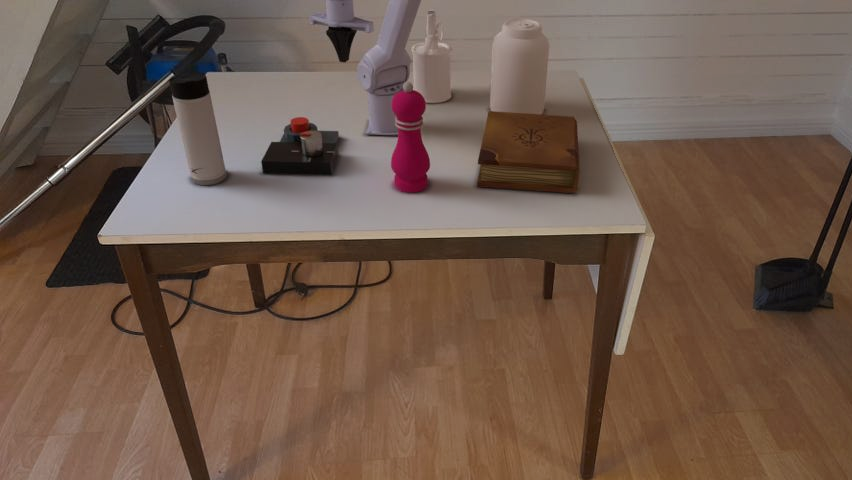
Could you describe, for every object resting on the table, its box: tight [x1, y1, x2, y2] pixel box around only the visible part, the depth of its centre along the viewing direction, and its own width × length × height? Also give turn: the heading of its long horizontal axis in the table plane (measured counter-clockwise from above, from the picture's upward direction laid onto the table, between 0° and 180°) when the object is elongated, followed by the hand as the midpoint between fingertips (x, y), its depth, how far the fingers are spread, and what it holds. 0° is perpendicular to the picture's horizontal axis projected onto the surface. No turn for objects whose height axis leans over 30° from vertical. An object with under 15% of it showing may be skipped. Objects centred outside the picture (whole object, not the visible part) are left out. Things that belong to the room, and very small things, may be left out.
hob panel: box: [260, 141, 339, 176], centre depth 138 cm, size 13×8×3 cm, turn 91°
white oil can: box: [410, 8, 453, 104], centre depth 162 cm, size 10×9×20 cm
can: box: [489, 18, 550, 115], centre depth 157 cm, size 12×12×20 cm
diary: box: [476, 110, 580, 194], centre depth 140 cm, size 23×19×6 cm
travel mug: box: [168, 73, 227, 186], centre depth 127 cm, size 6×7×20 cm
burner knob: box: [300, 130, 323, 157], centre depth 136 cm, size 4×4×4 cm
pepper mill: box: [390, 81, 431, 194], centre depth 127 cm, size 7×7×20 cm
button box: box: [279, 122, 340, 144], centre depth 145 cm, size 11×7×4 cm, turn 91°
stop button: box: [290, 116, 310, 133], centre depth 143 cm, size 4×4×2 cm
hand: (344, 60), depth 156 cm, fingers closed
